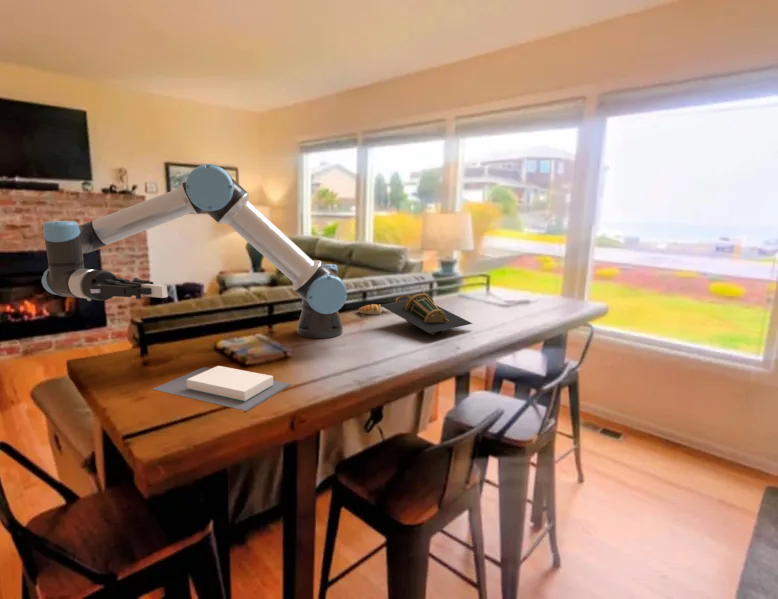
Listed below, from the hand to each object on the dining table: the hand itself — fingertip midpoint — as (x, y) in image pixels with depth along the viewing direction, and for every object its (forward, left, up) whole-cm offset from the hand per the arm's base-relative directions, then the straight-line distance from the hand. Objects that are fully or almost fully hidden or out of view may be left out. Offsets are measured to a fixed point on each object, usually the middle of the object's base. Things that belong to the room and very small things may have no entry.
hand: (164, 291), depth 107 cm
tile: (-9, +5, -20) cm, 22 cm away
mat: (-14, +8, -21) cm, 26 cm away
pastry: (-56, -66, -22) cm, 89 cm away
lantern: (-71, -43, -22) cm, 86 cm away
